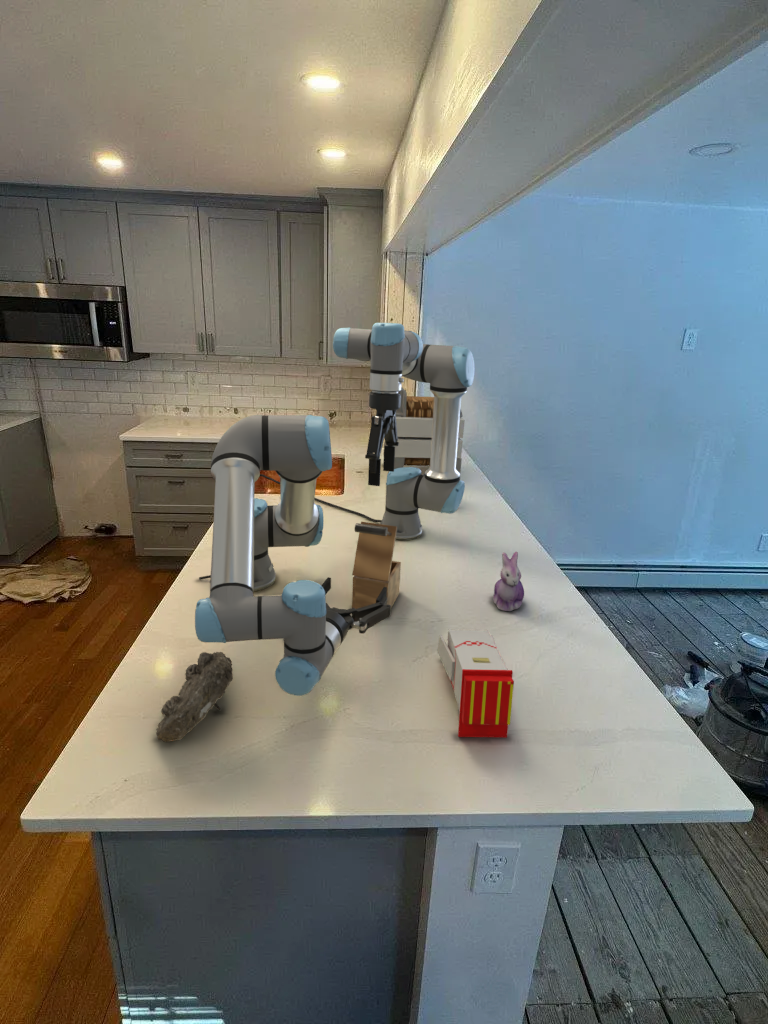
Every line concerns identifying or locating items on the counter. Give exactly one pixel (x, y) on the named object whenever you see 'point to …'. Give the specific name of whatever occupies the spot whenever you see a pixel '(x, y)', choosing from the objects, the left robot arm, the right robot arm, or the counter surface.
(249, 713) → the counter surface
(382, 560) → the lid
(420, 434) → the white slatted crate
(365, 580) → the chest
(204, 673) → the fossil
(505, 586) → the figurine
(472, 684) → the toy
